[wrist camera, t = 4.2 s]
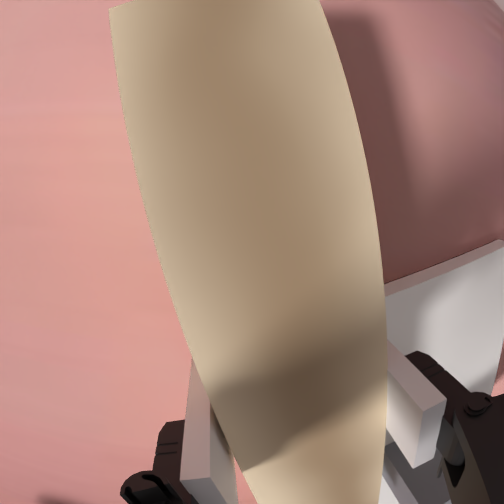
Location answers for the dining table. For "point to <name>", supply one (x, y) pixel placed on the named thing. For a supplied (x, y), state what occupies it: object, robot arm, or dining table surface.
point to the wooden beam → (264, 233)
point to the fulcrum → (444, 347)
